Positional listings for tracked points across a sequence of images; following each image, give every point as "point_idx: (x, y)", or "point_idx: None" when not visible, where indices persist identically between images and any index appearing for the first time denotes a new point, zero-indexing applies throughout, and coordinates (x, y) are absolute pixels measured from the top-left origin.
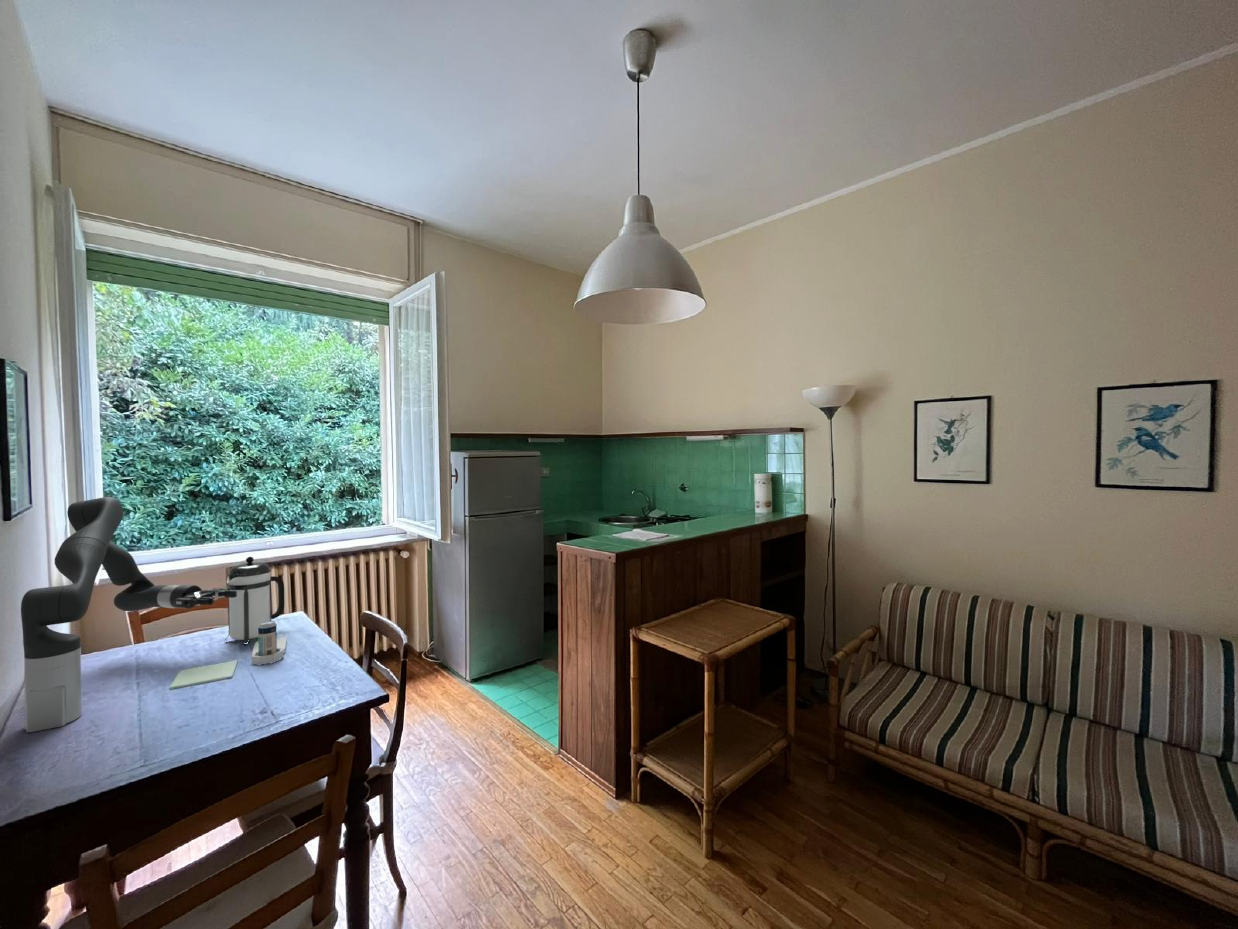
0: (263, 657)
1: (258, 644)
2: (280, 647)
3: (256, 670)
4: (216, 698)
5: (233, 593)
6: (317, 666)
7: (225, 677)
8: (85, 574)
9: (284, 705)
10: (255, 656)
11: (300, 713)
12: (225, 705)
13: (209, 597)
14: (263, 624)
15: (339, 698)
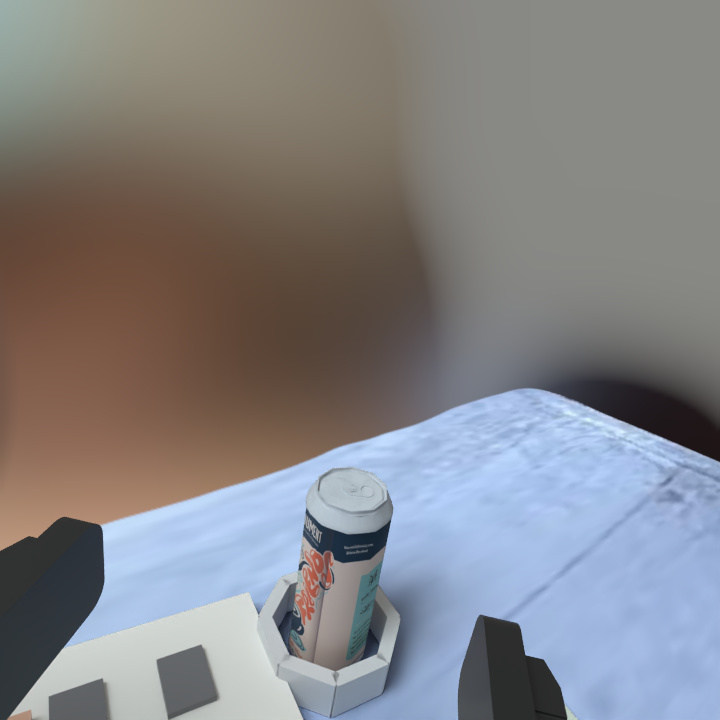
0: (393, 609)
1: (361, 608)
2: (216, 620)
3: (452, 632)
4: (699, 636)
5: (87, 562)
6: (405, 477)
7: (567, 710)
8: None
9: (629, 475)
10: (391, 643)
11: (639, 447)
12: (709, 584)
13: (492, 663)
14: (376, 496)
15: (562, 417)
